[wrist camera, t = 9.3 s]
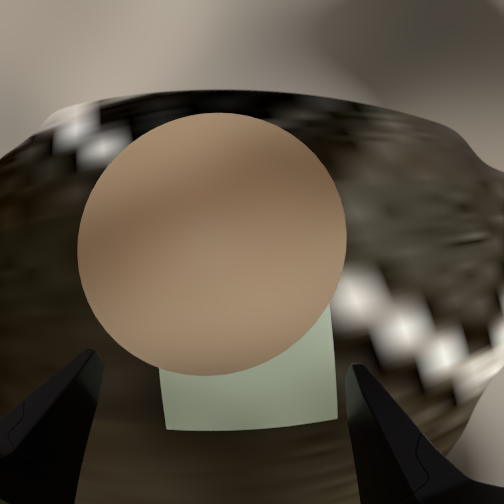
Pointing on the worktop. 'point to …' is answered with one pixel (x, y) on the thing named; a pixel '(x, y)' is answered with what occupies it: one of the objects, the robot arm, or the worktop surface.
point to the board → (259, 390)
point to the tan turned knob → (211, 244)
